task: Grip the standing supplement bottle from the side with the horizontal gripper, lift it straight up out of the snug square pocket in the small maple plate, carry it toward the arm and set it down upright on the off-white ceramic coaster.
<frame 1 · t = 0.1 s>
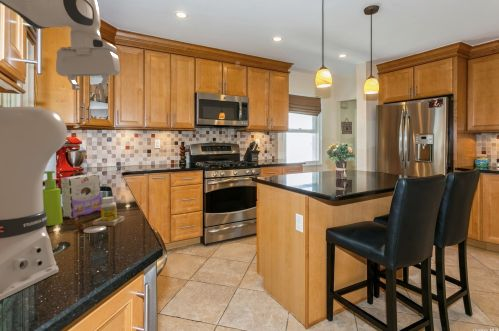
hand: (89, 89, 95), 48 cm above the table, tool pointing down, fingers open, 8 cm apart
soap dispenser: (52, 224, 109), on the table
maple pocket plate: (109, 222, 110), on the table
supplement bottle: (109, 222, 110), resting in maple pocket plate
ceramic coaster: (94, 229, 101), on the table
candy box: (83, 214, 124), on the table
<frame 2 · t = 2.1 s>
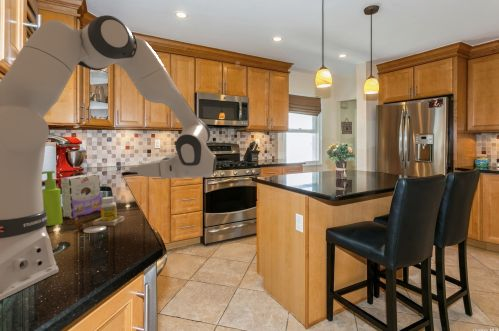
hand: (136, 167, 107), 21 cm above the table, tool horizontal, fingers open, 8 cm apart
nothing on the table moved.
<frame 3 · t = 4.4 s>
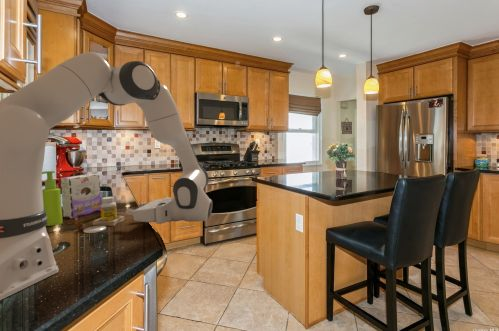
hand: (133, 208, 109), 5 cm above the table, tool horizontal, fingers open, 8 cm apart
nothing on the table moved.
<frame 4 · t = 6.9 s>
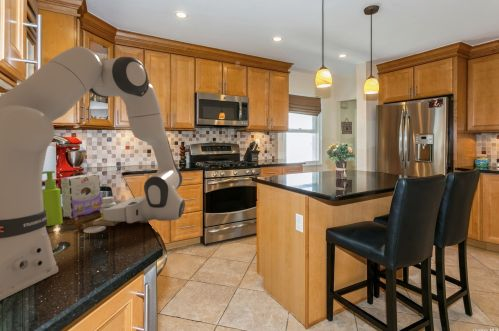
hand: (106, 208, 110), 6 cm above the table, tool horizontal, fingers closed on supplement bottle, 5 cm apart
supplement bottle: (109, 222, 110), resting in maple pocket plate, touching gripper
everything else where it was.
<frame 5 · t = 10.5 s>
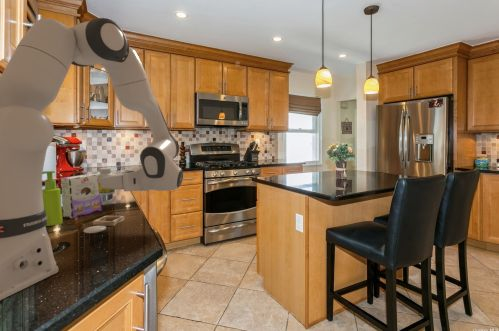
hand: (103, 178, 108), 17 cm above the table, tool horizontal, fingers closed on supplement bottle, 5 cm apart
supplement bottle: (106, 194, 109), point 11 cm above the table, touching gripper
everything else where it was.
when the fingers open (7 cm above the table, at t = 14.6 s): supplement bottle stays where it is, resting on ceramic coaster.
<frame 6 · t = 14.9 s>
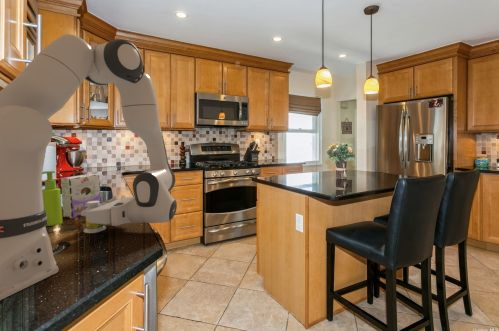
hand: (91, 209, 101), 7 cm above the table, tool horizontal, fingers open, 8 cm apart
supplement bottle: (95, 229, 101), resting on ceramic coaster
everything else where it was.
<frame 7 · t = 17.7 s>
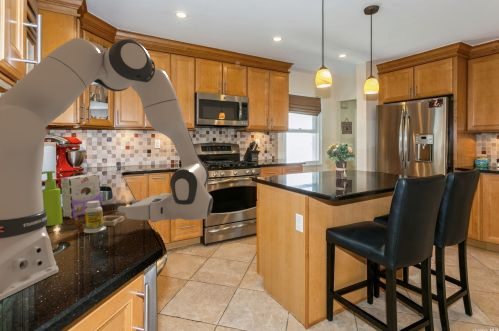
hand: (126, 205, 100), 9 cm above the table, tool horizontal, fingers open, 8 cm apart
nothing on the table moved.
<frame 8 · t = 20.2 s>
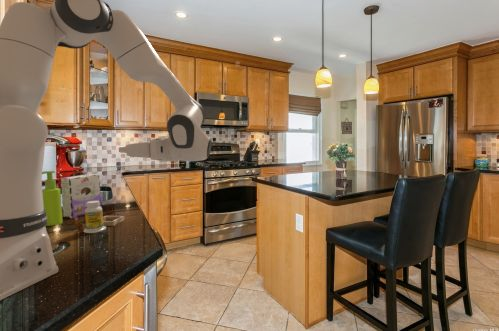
hand: (127, 149, 102), 28 cm above the table, tool horizontal, fingers open, 8 cm apart
nothing on the table moved.
at the end: supplement bottle 0.1 cm off-centre on the ceramic coaster, point 0.2 cm above the ceramic coaster's base; supplement bottle tilted 0°; the gripper is holding nothing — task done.
